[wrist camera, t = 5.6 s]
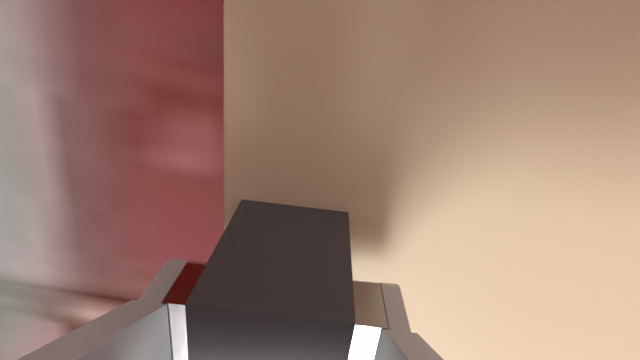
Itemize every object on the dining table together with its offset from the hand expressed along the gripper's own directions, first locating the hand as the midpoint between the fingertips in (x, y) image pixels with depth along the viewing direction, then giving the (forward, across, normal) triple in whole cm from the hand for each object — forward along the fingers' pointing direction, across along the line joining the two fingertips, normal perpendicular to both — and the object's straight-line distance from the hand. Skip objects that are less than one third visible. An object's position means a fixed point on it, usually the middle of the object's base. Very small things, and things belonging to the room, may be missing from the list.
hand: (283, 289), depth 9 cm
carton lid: (+2, -6, 0) cm, 6 cm away
